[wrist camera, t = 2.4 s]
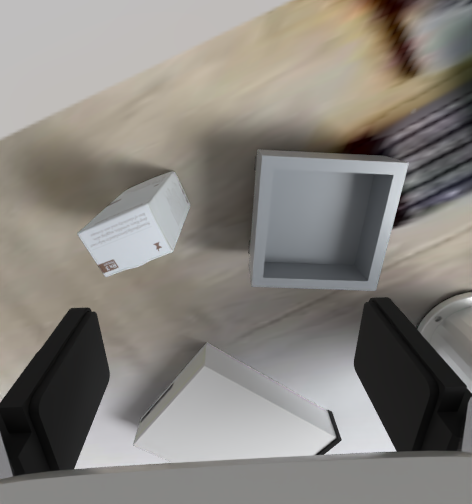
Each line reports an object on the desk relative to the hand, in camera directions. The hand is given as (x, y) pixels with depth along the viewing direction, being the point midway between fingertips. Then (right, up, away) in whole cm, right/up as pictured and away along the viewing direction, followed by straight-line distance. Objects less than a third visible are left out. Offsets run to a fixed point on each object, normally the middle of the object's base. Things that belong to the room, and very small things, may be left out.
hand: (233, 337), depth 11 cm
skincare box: (-8, +9, +24) cm, 26 cm away
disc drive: (0, -21, +37) cm, 43 cm away
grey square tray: (+8, +8, +24) cm, 26 cm away
